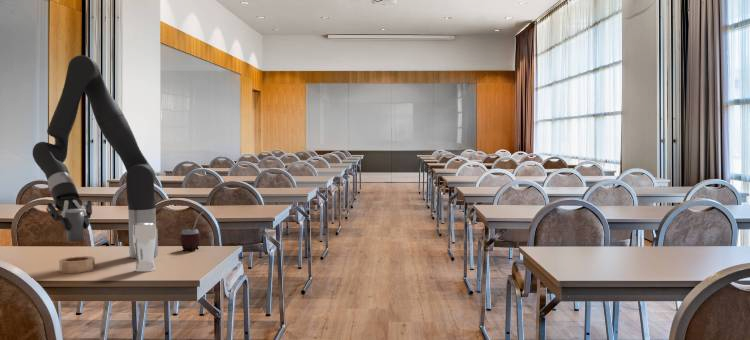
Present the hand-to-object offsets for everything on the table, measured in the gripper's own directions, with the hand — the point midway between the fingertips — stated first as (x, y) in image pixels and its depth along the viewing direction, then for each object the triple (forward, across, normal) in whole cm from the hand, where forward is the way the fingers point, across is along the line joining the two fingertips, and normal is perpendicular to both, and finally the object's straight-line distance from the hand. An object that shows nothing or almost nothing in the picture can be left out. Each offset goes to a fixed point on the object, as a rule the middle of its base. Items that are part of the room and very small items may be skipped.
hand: (77, 227), depth 198 cm
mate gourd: (+5, +44, +14) cm, 46 cm away
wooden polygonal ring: (+9, 0, +11) cm, 14 cm away
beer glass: (+21, +15, -1) cm, 26 cm away
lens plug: (+2, 0, +4) cm, 5 cm away
